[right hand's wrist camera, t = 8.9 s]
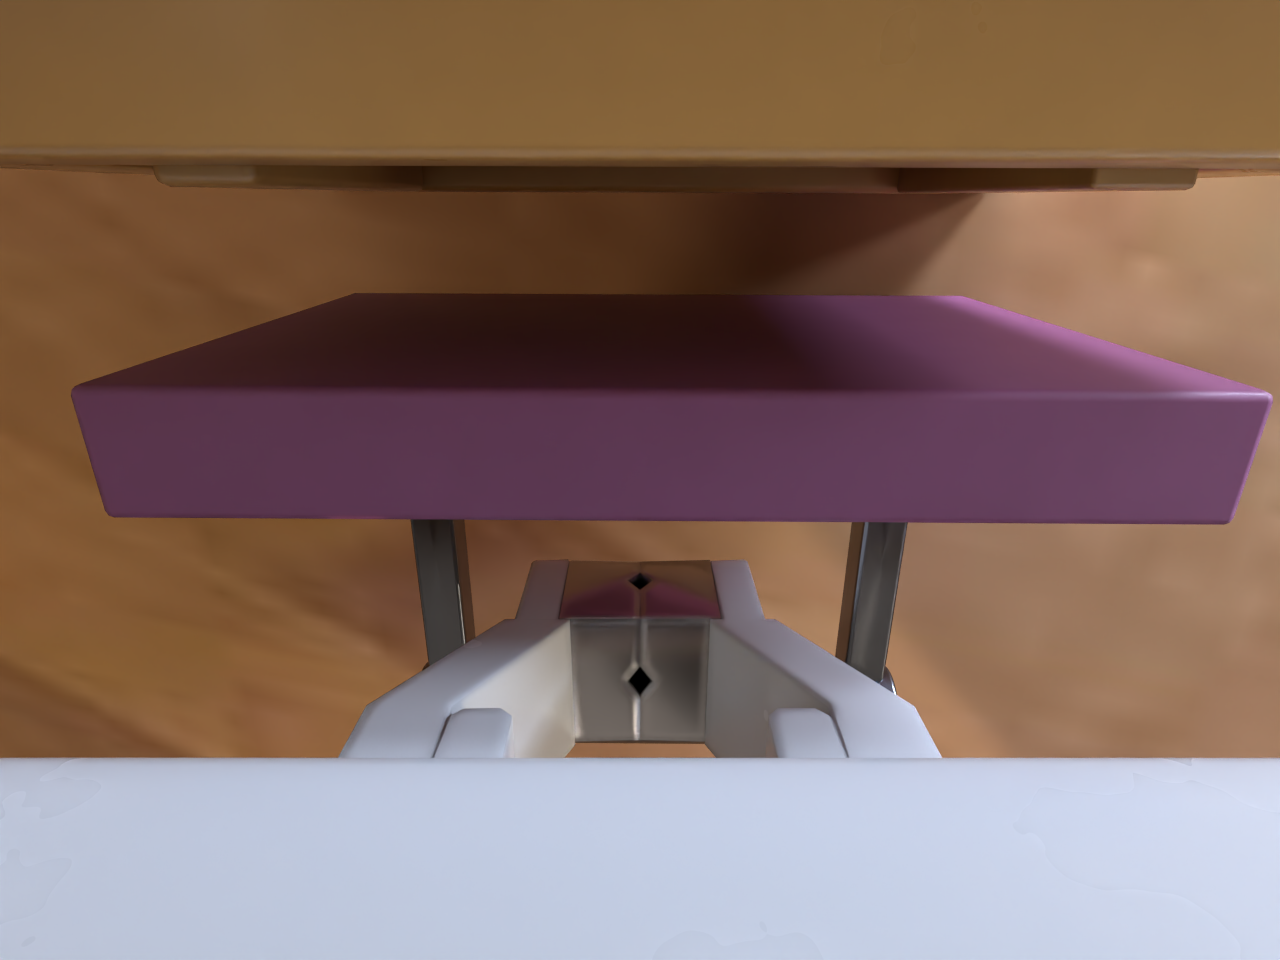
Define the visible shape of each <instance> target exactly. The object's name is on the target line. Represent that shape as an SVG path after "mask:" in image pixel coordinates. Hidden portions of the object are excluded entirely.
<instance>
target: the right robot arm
mask: <svg viewBox="0 0 1280 960" xmlns="http://www.w3.org/2000/svg"><path fill="white" fill-rule="evenodd" d="M614 740H664V741H701V742H705V745H706V746H707V747H708V749H709V750H710V751H711V752H712V753H713V754H714V756H715V757H716V758H564V757H565V756H566V755H567V754H568V753H569V752H570V750H571V749H572V748H573V747H574V746H575V742H578V741H614ZM0 960H1280V758H942V757H941V755H940V753H939V751H938V749H937V747H936V746H935V744H934V742H933V740H932V738H931V736H930V734H929V733H928V731H927V729H926V727H925V725H924V723H923V721H922V720H921V718H920V716H919V714H918V712H917V710H916V708H915V707H914V706H913V705H911V704H910V703H908V702H907V701H905V700H903V699H902V698H900V697H899V696H897V695H895V694H894V693H892V692H891V691H889V690H887V689H886V688H884V687H883V686H881V685H879V684H878V683H876V682H875V681H873V680H871V679H870V678H868V677H867V676H865V675H863V674H862V673H860V672H859V671H857V670H855V669H854V668H852V667H851V666H849V665H847V664H846V663H844V662H843V661H841V660H839V659H838V658H836V657H835V656H833V655H831V654H830V653H828V652H827V651H825V650H823V649H822V648H820V647H819V646H817V645H815V644H814V643H812V642H811V641H809V640H807V639H806V638H804V637H803V636H801V635H799V634H798V633H796V632H795V631H793V630H791V629H790V628H788V627H787V626H785V625H783V624H782V623H780V622H779V621H777V620H775V619H765V617H764V614H763V611H762V608H761V604H760V601H759V598H758V594H757V591H756V588H755V585H754V581H753V578H752V575H751V571H750V568H749V565H748V562H747V561H746V560H744V559H742V560H721V561H710V560H689V561H646V562H631V561H575V560H571V561H569V560H568V559H567V560H536V561H534V562H533V563H532V564H531V567H530V571H529V574H528V577H527V581H526V584H525V587H524V591H523V594H522V597H521V601H520V604H519V607H518V611H517V614H516V617H515V619H505V620H503V621H501V622H500V623H498V624H497V625H495V626H493V627H492V628H490V629H488V630H487V631H485V632H484V633H482V634H480V635H479V636H477V637H476V638H474V639H472V640H471V641H469V642H468V643H466V644H464V645H463V646H461V647H460V648H458V649H456V650H455V651H453V652H452V653H450V654H448V655H447V656H445V657H444V658H442V659H440V660H439V661H437V662H435V663H434V664H432V665H431V666H429V667H427V668H426V669H424V670H423V671H421V672H419V673H418V674H416V675H415V676H413V677H411V678H410V679H408V680H407V681H405V682H403V683H402V684H400V685H399V686H397V687H395V688H394V689H392V690H391V691H389V692H387V693H386V694H384V695H382V696H381V697H379V698H378V699H376V700H374V701H373V702H371V703H370V704H368V705H366V707H365V709H364V711H363V713H362V715H361V716H360V718H359V720H358V722H357V724H356V726H355V727H354V729H353V731H352V733H351V735H350V737H349V738H348V740H347V742H346V744H345V746H344V748H343V749H342V751H341V753H340V755H339V757H338V758H0Z"/></svg>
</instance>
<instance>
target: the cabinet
mask: <svg viewBox="0 0 1280 960" xmlns="http://www.w3.org/2000/svg"><path fill="white" fill-rule="evenodd" d="M152 165H319V166H602V167H885V168H1168V169H1199V170H1198V174H1197V178H1212V177H1240V176H1269V175H1280V0H0V168H13V169H35V170H57V171H79V172H101V173H123V174H145V175H155V174H154V172H153V167H152Z"/></svg>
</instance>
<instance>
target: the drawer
mask: <svg viewBox="0 0 1280 960" xmlns="http://www.w3.org/2000/svg"><path fill="white" fill-rule="evenodd" d="M152 167H153V172H154V174H155V176H156V178H157V180H158V181H159V182H161V183H163V184H165V185H168V186H170V187H214V188H258V189H302V190H346V191H390V192H650V193H917V194H932V193H1011V192H1087V191H1163V190H1187V189H1190V188H1192V187H1193V186H1194V184H1195V182H1196V178H1197V174H1198V170H1199V169H1168V168H885V167H602V166H319V165H152ZM71 397H72V401H73V404H74V407H75V411H76V414H77V417H78V421H79V424H80V428H81V431H82V434H83V438H84V441H85V444H86V448H87V451H88V454H89V458H90V461H91V465H92V468H93V471H94V475H95V478H96V481H97V485H98V488H99V491H100V495H101V498H102V502H103V505H104V508H105V511H106V512H107V514H108V515H109V516H112V517H150V518H305V519H411V527H412V535H413V543H414V551H415V559H416V567H417V575H418V583H419V591H420V599H421V607H422V615H423V622H424V630H425V638H426V646H427V654H428V662H427V663H426V664H425V666H424V668H423V670H424V669H426V668H427V667H429V666H431V665H432V664H434V663H435V662H437V661H439V660H440V659H442V658H444V657H445V656H447V655H448V654H450V653H452V652H453V651H455V650H456V649H458V648H460V647H461V646H463V645H464V644H466V643H468V642H469V641H471V640H472V639H474V638H475V627H474V617H473V606H472V596H471V586H470V575H469V565H468V554H467V544H466V533H465V523H464V520H614V521H769V522H852V526H851V534H850V542H849V550H848V558H847V566H846V574H845V582H844V590H843V598H842V606H841V614H840V622H839V631H838V639H837V647H836V655H835V657H836V658H838V659H839V660H841V661H843V662H844V663H846V664H847V665H849V666H851V667H852V668H854V669H855V670H857V671H859V672H860V673H862V674H863V675H865V676H867V677H868V678H870V679H871V680H873V681H875V682H876V683H878V684H879V685H881V686H883V687H884V688H886V689H887V690H889V691H891V692H892V693H894V694H895V695H897V692H896V688H895V684H894V681H893V678H892V676H891V673H890V671H889V670H888V668H887V667H886V666H885V665H886V658H887V652H888V645H889V639H890V633H891V626H892V620H893V613H894V607H895V600H896V594H897V588H898V581H899V575H900V568H901V562H902V556H903V549H904V543H905V536H906V530H907V523H908V522H924V523H1079V524H1227V523H1229V522H1230V521H1231V520H1232V519H1233V518H1234V515H1235V512H1236V509H1237V506H1238V503H1239V500H1240V497H1241V494H1242V491H1243V488H1244V485H1245V482H1246V479H1247V476H1248V474H1249V471H1250V468H1251V465H1252V462H1253V459H1254V456H1255V453H1256V450H1257V447H1258V444H1259V441H1260V438H1261V435H1262V432H1263V429H1264V426H1265V423H1266V421H1267V418H1268V415H1269V412H1270V409H1271V406H1272V403H1273V400H1272V395H1271V394H1270V393H1268V392H1266V391H1264V390H1261V389H1258V388H1255V387H1252V386H1248V385H1245V384H1242V383H1239V382H1236V381H1232V380H1229V379H1226V378H1223V377H1220V376H1216V375H1213V374H1210V373H1207V372H1204V371H1200V370H1197V369H1194V368H1191V367H1188V366H1184V365H1181V364H1178V363H1175V362H1172V361H1168V360H1165V359H1162V358H1159V357H1155V356H1152V355H1149V354H1146V353H1143V352H1139V351H1136V350H1133V349H1130V348H1127V347H1123V346H1120V345H1117V344H1114V343H1111V342H1107V341H1104V340H1101V339H1098V338H1095V337H1091V336H1088V335H1085V334H1082V333H1079V332H1075V331H1072V330H1069V329H1066V328H1063V327H1059V326H1056V325H1053V324H1050V323H1047V322H1043V321H1040V320H1037V319H1034V318H1031V317H1027V316H1024V315H1021V314H1018V313H1015V312H1011V311H1008V310H1005V309H1002V308H999V307H995V306H992V305H989V304H986V303H983V302H979V301H976V300H973V299H970V298H967V297H963V296H848V295H630V294H412V293H354V294H351V295H348V296H345V297H342V298H339V299H336V300H333V301H330V302H327V303H324V304H321V305H318V306H315V307H312V308H309V309H306V310H303V311H300V312H297V313H294V314H291V315H288V316H284V317H281V318H278V319H275V320H272V321H269V322H266V323H263V324H260V325H257V326H254V327H251V328H248V329H245V330H242V331H239V332H236V333H233V334H230V335H227V336H224V337H221V338H218V339H215V340H212V341H209V342H206V343H203V344H200V345H197V346H194V347H190V348H187V349H184V350H181V351H178V352H175V353H172V354H169V355H166V356H163V357H160V358H157V359H154V360H151V361H148V362H145V363H142V364H139V365H136V366H133V367H130V368H127V369H124V370H121V371H118V372H115V373H112V374H109V375H106V376H103V377H99V378H96V379H93V380H90V381H87V382H84V383H81V384H79V385H77V386H75V387H74V388H73V389H72V391H71ZM423 670H422V671H423ZM575 743H655V744H705V742H701V741H664V740H614V741H578V742H575Z"/></svg>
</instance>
